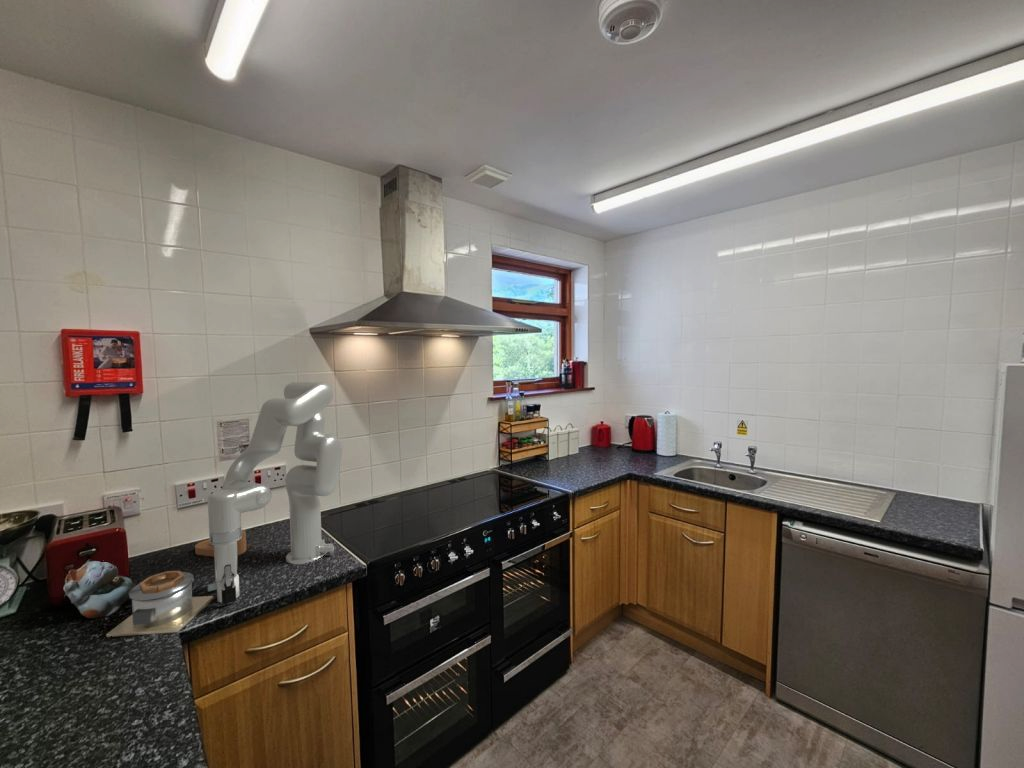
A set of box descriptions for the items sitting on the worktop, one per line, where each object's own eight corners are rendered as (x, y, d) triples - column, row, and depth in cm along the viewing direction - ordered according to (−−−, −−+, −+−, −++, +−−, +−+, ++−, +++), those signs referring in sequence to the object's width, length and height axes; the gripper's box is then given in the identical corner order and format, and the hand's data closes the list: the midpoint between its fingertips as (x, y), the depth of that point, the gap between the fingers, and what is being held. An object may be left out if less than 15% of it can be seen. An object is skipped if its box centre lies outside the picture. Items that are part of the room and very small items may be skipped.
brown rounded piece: (252, 549, 152) (251, 530, 151) (231, 560, 144) (231, 540, 143) (211, 544, 156) (210, 526, 155) (189, 554, 148) (188, 535, 147)
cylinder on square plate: (213, 599, 119) (212, 563, 119) (177, 634, 104) (175, 592, 104) (152, 603, 118) (150, 566, 117) (106, 638, 103) (103, 596, 102)
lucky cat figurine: (100, 624, 108) (91, 571, 107) (50, 629, 108) (41, 576, 107) (147, 591, 123) (140, 545, 122) (104, 595, 123) (96, 549, 122)
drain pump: (239, 591, 123) (237, 569, 123) (240, 599, 119) (239, 576, 119) (208, 600, 119) (207, 576, 119) (208, 608, 115) (207, 584, 115)
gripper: (209, 528, 124) (211, 585, 125) (209, 549, 110) (212, 613, 110) (239, 522, 128) (242, 577, 129) (243, 542, 114) (246, 604, 115)
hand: (228, 594), depth 120 cm, fingers open, 9 cm apart
